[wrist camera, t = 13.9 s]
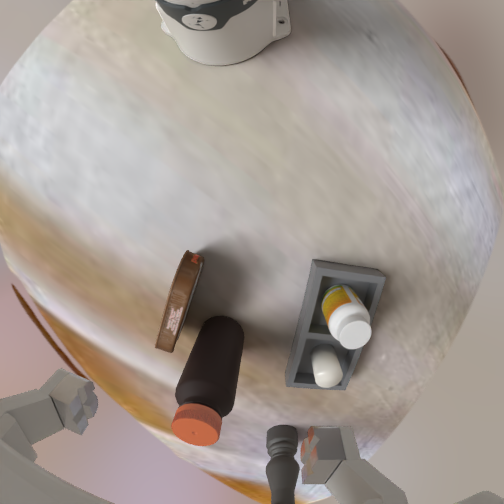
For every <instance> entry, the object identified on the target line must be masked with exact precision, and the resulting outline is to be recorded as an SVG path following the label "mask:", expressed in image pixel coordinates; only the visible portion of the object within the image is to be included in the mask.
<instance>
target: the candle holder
mask: <svg viewBox="0 0 504 504" xmlns="http://www.w3.org/2000/svg"><path fill="white" fill-rule="evenodd" d="M297 446H298V436H297V431H296V429H295V428H293V427H292V426H288V425H278V426H274V427H272V428H270V429H269V430H268V431H267V444H266V447H267V449H268V454H269V456H271V460H270V461H269V463H268V464H267V466H266V475H267V478H268V482H269V485H270V489H271V493H272V497H271V504H295V499H294V490H295V486H296V482H297V478H298V474H299V470H300V467H299V464H298V463H297V461H296V460H295V459H294V457H293V456H294V455H295V454H296V452H297Z"/></svg>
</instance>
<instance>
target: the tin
mask: <svg viewBox="0 0 504 504" xmlns="http://www.w3.org/2000/svg"><path fill="white" fill-rule="evenodd" d="M203 264H204V258H203V257H202V256H200V255H197V254H194V253H192V252H189V250H187V251H186V252H185V254H184V255H183V258H182V259H181V262H180V264H179V266H178V269H177V271H176V274H175V276H174V279H173V282H172V285H171V288H170V291H169V295H168V298H167V302H166V305H165V309H164V312H163V316H162V320H161V324H160V327H159V331H158V335H157V339H156V344H155V348H158V349H161V350H164V351H166V352H170V353H172V352H173V351H174V347H175V344H176V341H177V340H178V338H179V336H180V333H181V330H182V327H183V324H184V321H185V318H186V315H187V312H188V309H189V306H190V304H191V301H192V298H193V295H194V292H195V289H196V286H197V283H198V280H199V276H200V273H201V270H202V267H203Z"/></svg>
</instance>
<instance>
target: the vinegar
mask: <svg viewBox="0 0 504 504" xmlns="http://www.w3.org/2000/svg"><path fill="white" fill-rule="evenodd" d="M243 343H244V332H243V330H242V328H241V326H240V325H239V324H238V323H237V322H236V321H234V320H233V319H231V318H228V317H224V316H216V317H213V318H210V319H209V320H207V321H206V322H205V323H204V324H203V326H202V327H201V330H200V332H199V334H198V337H197V339H196V342H195V344H194V346H193V349H192V351H191V353H190V356H189V358H188V361H187V363H186V365H185V368H184V370H183V373H182V375H181V377H180V380H179V382H178V385H177V387H176V393H175V397H176V400H177V403H178V404H179V405H180V406H179V407H178V409H177V411H176V414H175V417H174V419H173V422H172V425H171V427H172V430H173V432H174V434H175V435H176V436H177V437H178V438H179V439H181V440H183V441H185V442H187V443H189V444H193V445H198V446H207V445H211V444H214V443H216V442H217V441H218V439H219V436H220V430H221V425H222V417H224V416H226V415H228V414H229V413H230V412H231V410H232V408H233V405H234V401H235V395H236V388H237V382H238V375H239V369H240V362H241V356H242V349H243Z"/></svg>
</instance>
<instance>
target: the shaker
mask: <svg viewBox="0 0 504 504" xmlns="http://www.w3.org/2000/svg"><path fill="white" fill-rule="evenodd" d="M310 357H311V362H312V367H313V372H314V377H315V382H316V384H317V385H318V386H320V387H323V388H329V387H333V386H335V385H337V384H338V383H339V382H340V381H341V380H342V377H343V373H342V370H341V367H340V364H339V361H338V358H337V355H336V352H335V349H334V347H333V346H332V345H330V344H320V345H317V346H316V347H314V348H313V350H312V351H311V354H310Z"/></svg>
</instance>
